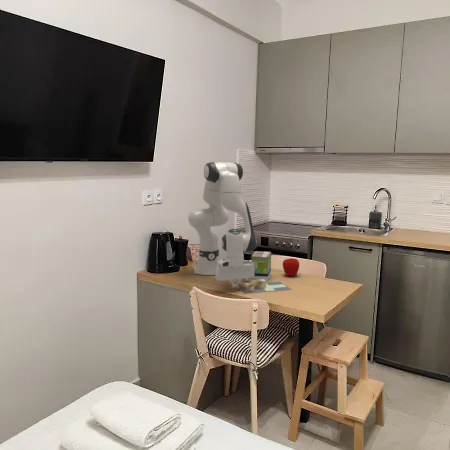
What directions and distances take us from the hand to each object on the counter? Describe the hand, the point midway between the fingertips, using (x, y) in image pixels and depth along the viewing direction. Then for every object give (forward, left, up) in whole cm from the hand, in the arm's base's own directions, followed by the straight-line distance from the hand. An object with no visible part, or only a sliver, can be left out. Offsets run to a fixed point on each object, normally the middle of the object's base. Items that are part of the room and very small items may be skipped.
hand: (235, 287), depth 216 cm
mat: (0, +15, -2) cm, 15 cm away
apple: (-20, +40, -2) cm, 45 cm away
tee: (0, +10, -1) cm, 10 cm away
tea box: (-19, +21, -2) cm, 29 cm away
